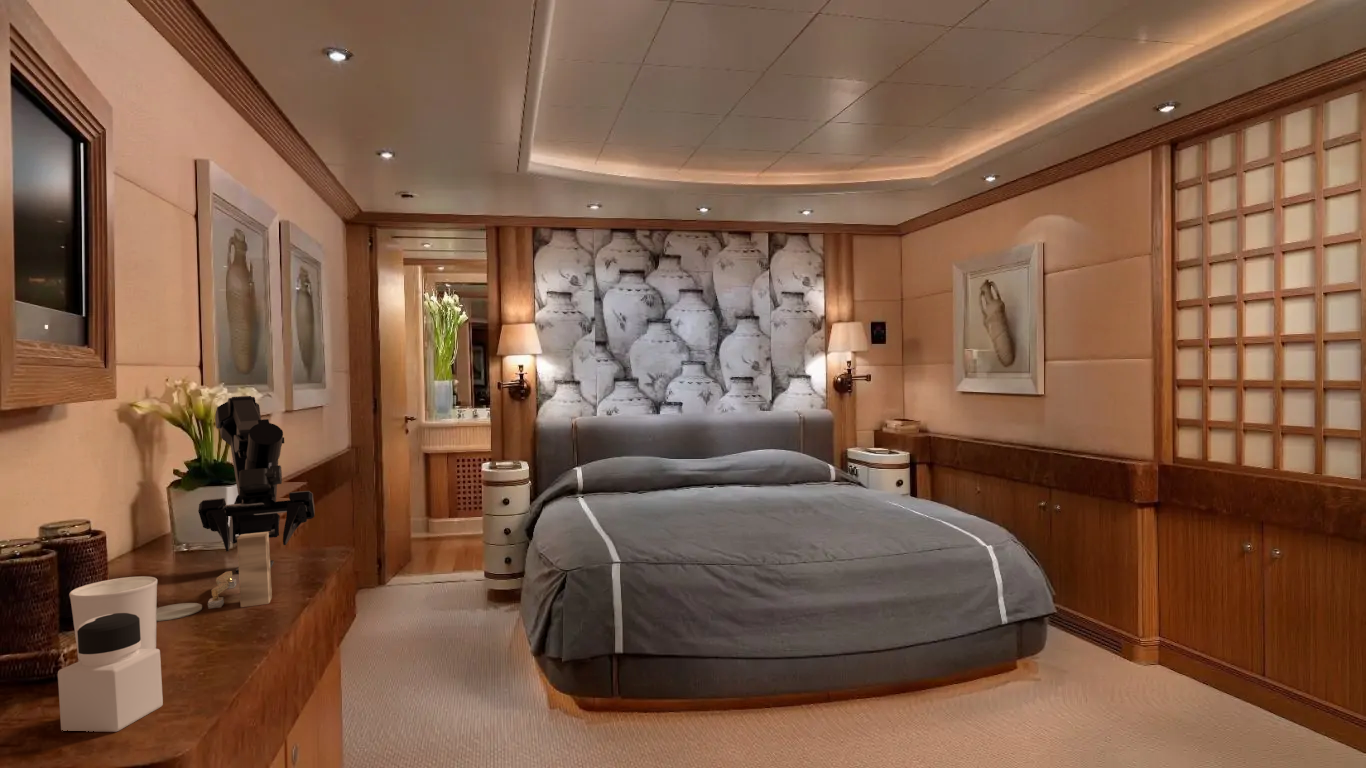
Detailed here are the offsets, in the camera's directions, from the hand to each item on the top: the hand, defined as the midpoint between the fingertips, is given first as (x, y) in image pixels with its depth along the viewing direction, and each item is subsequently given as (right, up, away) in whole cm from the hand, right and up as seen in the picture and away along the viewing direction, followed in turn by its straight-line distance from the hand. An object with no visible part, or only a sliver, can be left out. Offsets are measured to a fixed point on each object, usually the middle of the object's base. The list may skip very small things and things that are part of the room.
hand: (256, 546), depth 143 cm
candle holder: (0, -10, -35) cm, 36 cm away
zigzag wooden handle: (-8, -10, +3) cm, 13 cm away
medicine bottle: (+10, -10, -50) cm, 52 cm away
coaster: (-11, -10, -7) cm, 16 cm away
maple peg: (+1, -9, -2) cm, 10 cm away
